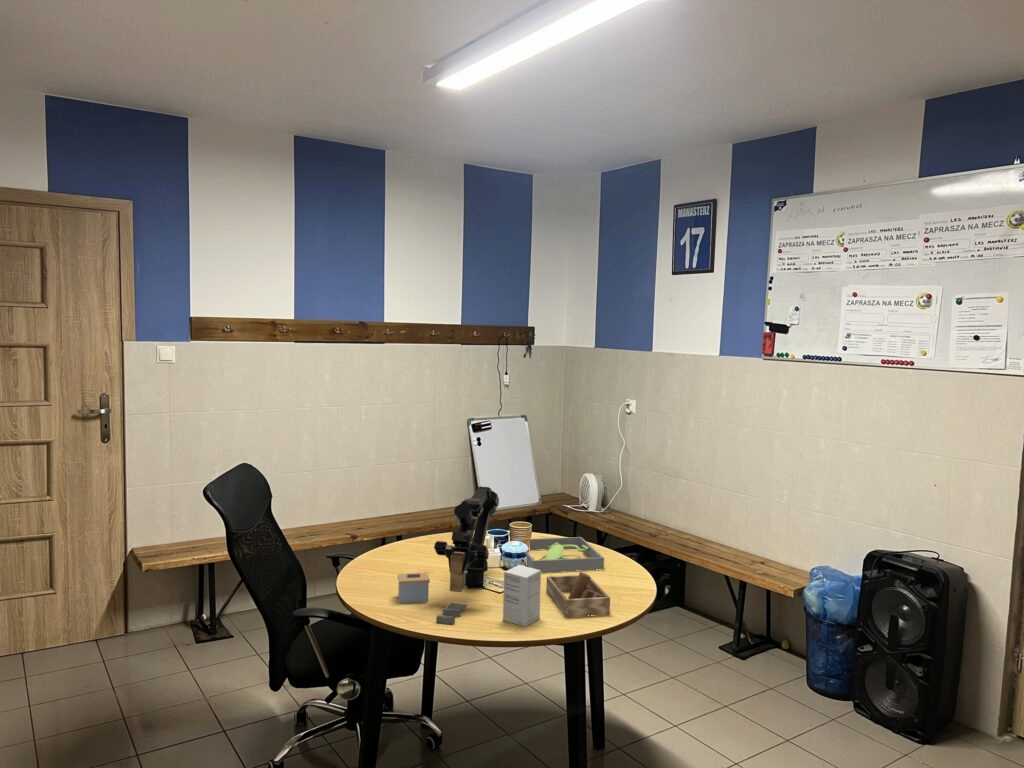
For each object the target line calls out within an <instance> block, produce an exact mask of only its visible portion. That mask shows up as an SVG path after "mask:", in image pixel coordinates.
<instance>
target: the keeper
mask: <svg viewBox="0 0 1024 768" xmlns="http://www.w3.org/2000/svg"><path fill="white" fill-rule="evenodd" d="M461 615H462V612H461V610H460V609H451V608H447V607H443V608H442V615H441V614H440V615H439V614H437V616H436V617H435V618H436V619H435V620H436V622H437V623H436V624H443V623H444V625H452V624H454V625H455V623H456V616H458V617H457V618H460V617H461Z"/></svg>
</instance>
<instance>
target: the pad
mask: <svg viewBox="0 0 1024 768" xmlns="http://www.w3.org/2000/svg"><path fill="white" fill-rule="evenodd" d="M467 606H468V604H467V603H460V602H450V603H449V604H448V605H447V607H446V608H451V609H460V610H461V613H463V612H464V611H465V610H466V609H467Z"/></svg>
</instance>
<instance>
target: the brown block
mask: <svg viewBox="0 0 1024 768" xmlns="http://www.w3.org/2000/svg"><path fill="white" fill-rule="evenodd" d="M464 561H465V553H460V552H454V553H453V554H452V555H451V558H450V571H449V573H450V575H449V576H450V577H449V579H450V580H449V592H452V593H453V592H455V593H462V592H463V590H464V589H465V583H464V580H465V573H466V571H465V572H464V574H462V568H463V565H464Z"/></svg>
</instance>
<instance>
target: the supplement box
mask: <svg viewBox="0 0 1024 768" xmlns="http://www.w3.org/2000/svg"><path fill="white" fill-rule="evenodd" d="M541 584H542V573H541V570H538V569H534V568H530V567H527V566H526V565H522V564H518V565H516V566H514V567H511V568H510V569H507V570H506V571H504V572H503V593H502V594H503V601H502V606H503V607H502V620H503V621H504V620H505V622H509V623H511V624H514V623H515V625H517V624H518V626H520V627H521V626H522V627H524V626H526V627H528V626H529V625H531V624H533V623H534V622H536V621H537V620H538V619H540V616H541V588H542V587H541Z"/></svg>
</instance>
